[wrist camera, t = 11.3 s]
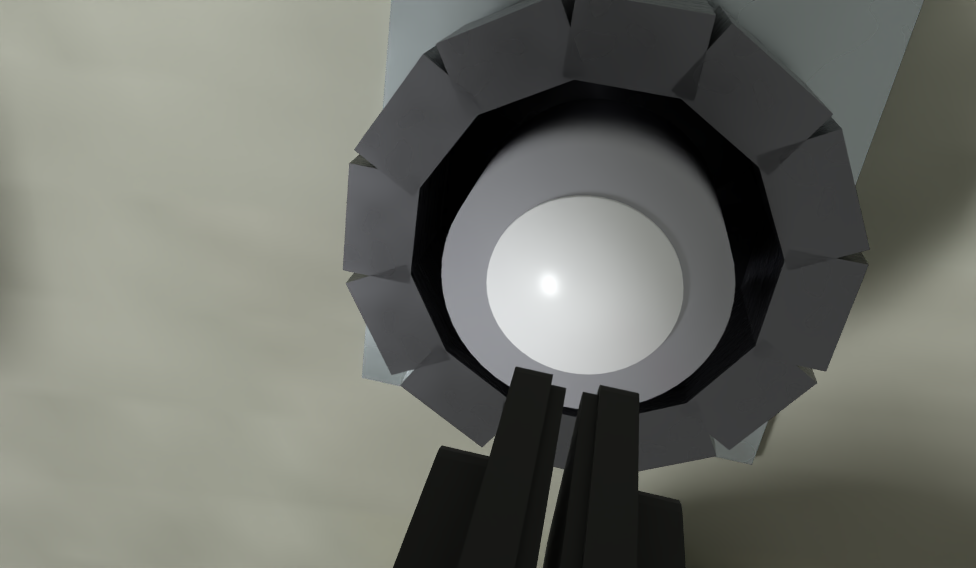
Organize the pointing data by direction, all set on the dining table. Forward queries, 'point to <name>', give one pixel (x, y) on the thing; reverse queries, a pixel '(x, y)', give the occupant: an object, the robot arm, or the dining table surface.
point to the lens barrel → (696, 112)
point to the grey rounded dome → (592, 253)
